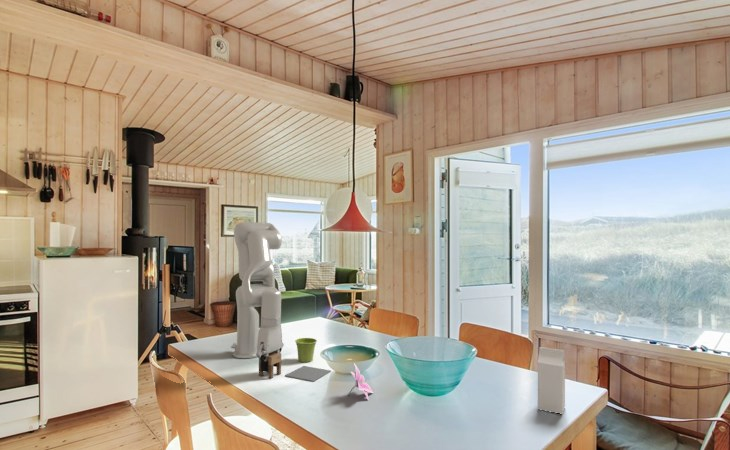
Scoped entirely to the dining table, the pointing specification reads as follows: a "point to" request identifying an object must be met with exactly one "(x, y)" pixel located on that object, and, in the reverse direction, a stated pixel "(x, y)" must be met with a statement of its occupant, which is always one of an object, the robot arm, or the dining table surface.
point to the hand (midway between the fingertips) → (269, 368)
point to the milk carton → (551, 380)
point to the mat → (308, 373)
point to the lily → (360, 382)
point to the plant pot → (305, 349)
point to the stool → (272, 359)
